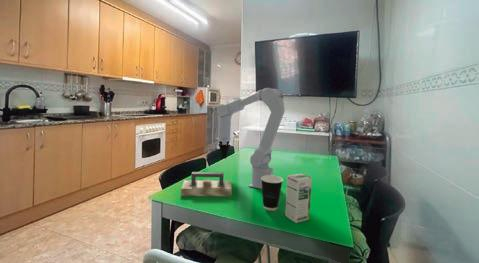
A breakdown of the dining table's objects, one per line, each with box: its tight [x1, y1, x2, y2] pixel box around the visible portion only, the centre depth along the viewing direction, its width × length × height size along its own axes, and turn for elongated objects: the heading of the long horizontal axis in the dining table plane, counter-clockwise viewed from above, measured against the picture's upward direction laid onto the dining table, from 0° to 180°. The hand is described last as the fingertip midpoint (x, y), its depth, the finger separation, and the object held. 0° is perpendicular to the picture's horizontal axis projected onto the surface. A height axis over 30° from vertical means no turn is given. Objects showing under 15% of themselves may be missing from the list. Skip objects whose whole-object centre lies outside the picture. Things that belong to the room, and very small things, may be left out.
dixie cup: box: [261, 174, 284, 212], centre depth 89 cm, size 8×8×11 cm
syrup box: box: [285, 173, 313, 224], centre depth 81 cm, size 6×6×14 cm
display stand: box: [180, 178, 233, 197], centre depth 102 cm, size 20×10×5 cm, turn 95°
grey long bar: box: [190, 171, 224, 185], centre depth 102 cm, size 13×2×4 cm, turn 95°
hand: (223, 156), depth 122 cm, fingers open, 7 cm apart
